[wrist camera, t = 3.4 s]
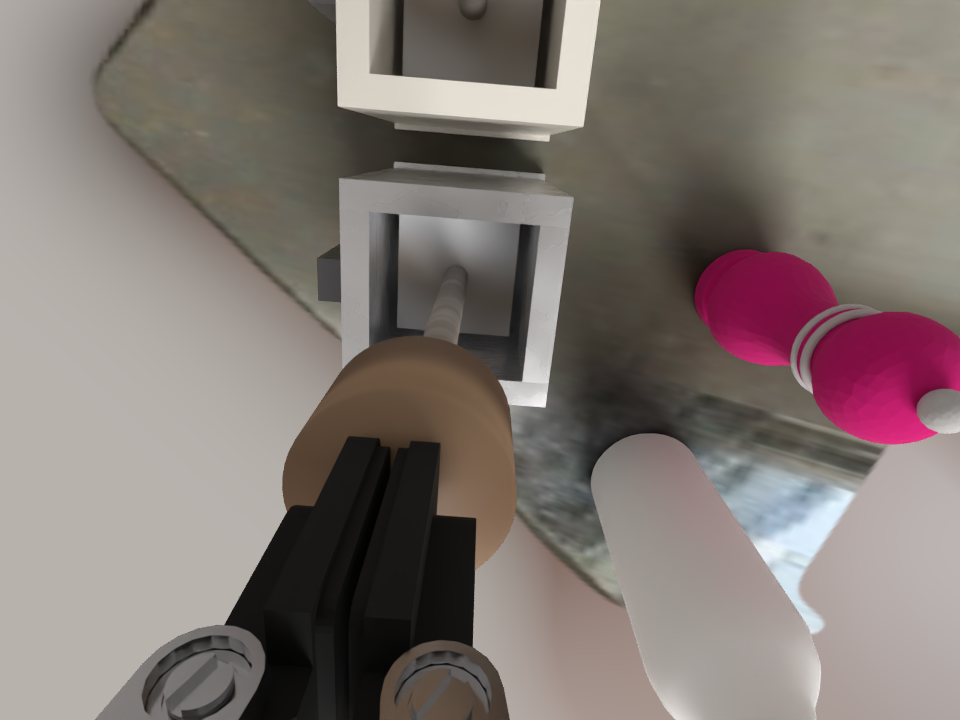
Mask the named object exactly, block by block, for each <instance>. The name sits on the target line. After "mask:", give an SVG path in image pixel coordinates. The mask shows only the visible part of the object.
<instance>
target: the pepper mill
mask: <svg viewBox="0 0 960 720" xmlns="http://www.w3.org/2000/svg"><path fill="white" fill-rule="evenodd" d="M695 306H696V310H697V313H698V315H699V317H700V318H701V320H702V321H703V322H704V323H705V324H706V325H707V326H709V327H710V330H711V332H712V334H713V336H714V338H715V339H716V341H717V342H718V343H719V345H721V346H722V347H723V348H724V349H725V350H727V351H728V352H730V353H731V354H733V355H735V356H736V357H738V358H740V359H743V360H745V361H748V362H753V363H757V364H762V365H791V369H792V372H793V375H794V377H795V378H796V380H797V381H798V382H799V383H800V385H801V386H803V387H804V388H805V389H807V390H808V391H810V392H811V393H812V394H813V396H814V398H815V400H816V403H817V405H818V406H819V408H820V409H821V411H822V413H823V414H824V415H825V416H826V417H827V418H828V419H829V420H830V421H832V422H833V423H834V424H835V425H836V426H837V427H839V428H841V429H842V430H844V431H846V432H847V433H849V434H851V435H853V436H855V437H858V438H860V439H863V440H867V441H870V442H874V443H882V444H904V443H911V442H916V441H920V440H923V439H925V438H928V437H931V436H934V435H935V434H937V433H956V432H960V338H959V337H958V336H957V335H956V334H954V333H953V332H952V331H950V330H949V329H948V328H946V327H945V326H943V325H941V324H939V323H938V322H936V321H934V320H932V319H929V318H926V317H923V316H920V315H917V314H913V313H908V312H881V311H877V310H875V309H873V308H871V307H869V306H865V305H861V304H845V305H838V302H837V300H836V297H835V295H834V292H833V290H832V288H831V286H830V285H829V283H828V282H827V280H826V279H825V278H824V277H823V276H822V274H821V273H820V272H819V271H818V270H817V269H816V268H815V267H813V266H812V265H811V264H809V263H808V262H806V261H804V260H802V259H800V258H798V257H796V256H794V255H791V254H787V253H781V252H766V253H762V252H760V251H756V250H751V249H741V250H735V251H732V252H729V253H727V254H724V255H722V256H720V257H719V258H717V259H716V260H714V261H713V262H712V263H711V264H710V265H709V266H708V267H707V268H706V269H705V271H704V272H703V273H702V275H701V277H700V279H699V281H698V283H697V286H696V290H695Z"/></svg>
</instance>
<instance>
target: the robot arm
mask: <svg viewBox="0 0 960 720" xmlns="http://www.w3.org/2000/svg"><path fill="white" fill-rule="evenodd" d="M440 450H441V443H437V442H424V441H411V442H410V445H409V448H398V451H397V454H396V457H395V461H394V464H393V467H392V471H391V474H390V465H391V450H390V447H385V446H381V444H380V439H379V438H370V437H356V436H348V438H347V439H346V442H345V444H344V446H343V448H342V450H341V452H340V454H339V456H338V458H337V460H336V462H335V464H334V466H333V468H332V470H331V472H330V474H329V476H328V478H327V480H326V482H325V484H324V486H323V488H322V490H321V493H320V495H319V497H318V499H317V501H316V503H315V505H314V506H304V505H293V506H292V507H290V509H289V510H288V512H287V513H286V515H285V517H284V519H283V520H282V522H281V524H280V526H279V528H278V530H277V531H276V533H275V535H274V537H273V538H272V540H271V542H270V544H269V545H268V547H267V549H266V551H265V553H264V555H263V556H262V558H261V560H260V562H259V563H258V565H257V567H256V569H255V571H254V572H253V574H252V576H251V578H250V580H249V582H248V583H247V585H246V587H245V589H244V590H243V592H242V594H241V596H240V598H239V600H238V601H237V603H236V605H235V607H234V608H233V610H232V612H231V614H230V616H229V618H228V619H227V621H226V623H225V625H215V626H209V627H204V628H198V629H195V630H193V631H190V632H188V633H185V634H183V635H180V636H178V637H176V638H175V639H173V640H171V641H170V642H168V643H167V644H165V645H163V646H162V647H160V648H159V649H158V650H157V651H156V652H155V653H153V654H152V655H151V656H150V657H149V658H148V659H147V660H146V661H145V662H144V663H143V664H142V665H141V666H140V668H139V669H138V670H137V671H136V672H135V673H134V675H133V676H132V677H131V678H130V680H128V682H127V683H126V684H125V685H124V686H123V687H122V689H121V690H120V691H119V692H118V693H117V694H116V696H115V697H114V698H113V699H112V700H111V701H110V703H109V704H108V705H107V706H106V707H105V708H104V710H103V711H102V712H101V713H100V714H99V716H98V717H97V718H96V719H95V720H510V719H509V714H508V708H507V703H506V698H505V692H504V687H503V685H502V682H501V679H500V676H499V674H498V671H497V670H496V669H495V667H494V666H493V665H492V663H491V662H490V661H489V659H488V658H487V657H486V656H484V655H483V654H482V653H480V652H479V651H477V650H476V649H475V648H473V617H474V584H475V551H476V518H470V517H457V516H443V515H437V503H438V485H439V468H440Z"/></svg>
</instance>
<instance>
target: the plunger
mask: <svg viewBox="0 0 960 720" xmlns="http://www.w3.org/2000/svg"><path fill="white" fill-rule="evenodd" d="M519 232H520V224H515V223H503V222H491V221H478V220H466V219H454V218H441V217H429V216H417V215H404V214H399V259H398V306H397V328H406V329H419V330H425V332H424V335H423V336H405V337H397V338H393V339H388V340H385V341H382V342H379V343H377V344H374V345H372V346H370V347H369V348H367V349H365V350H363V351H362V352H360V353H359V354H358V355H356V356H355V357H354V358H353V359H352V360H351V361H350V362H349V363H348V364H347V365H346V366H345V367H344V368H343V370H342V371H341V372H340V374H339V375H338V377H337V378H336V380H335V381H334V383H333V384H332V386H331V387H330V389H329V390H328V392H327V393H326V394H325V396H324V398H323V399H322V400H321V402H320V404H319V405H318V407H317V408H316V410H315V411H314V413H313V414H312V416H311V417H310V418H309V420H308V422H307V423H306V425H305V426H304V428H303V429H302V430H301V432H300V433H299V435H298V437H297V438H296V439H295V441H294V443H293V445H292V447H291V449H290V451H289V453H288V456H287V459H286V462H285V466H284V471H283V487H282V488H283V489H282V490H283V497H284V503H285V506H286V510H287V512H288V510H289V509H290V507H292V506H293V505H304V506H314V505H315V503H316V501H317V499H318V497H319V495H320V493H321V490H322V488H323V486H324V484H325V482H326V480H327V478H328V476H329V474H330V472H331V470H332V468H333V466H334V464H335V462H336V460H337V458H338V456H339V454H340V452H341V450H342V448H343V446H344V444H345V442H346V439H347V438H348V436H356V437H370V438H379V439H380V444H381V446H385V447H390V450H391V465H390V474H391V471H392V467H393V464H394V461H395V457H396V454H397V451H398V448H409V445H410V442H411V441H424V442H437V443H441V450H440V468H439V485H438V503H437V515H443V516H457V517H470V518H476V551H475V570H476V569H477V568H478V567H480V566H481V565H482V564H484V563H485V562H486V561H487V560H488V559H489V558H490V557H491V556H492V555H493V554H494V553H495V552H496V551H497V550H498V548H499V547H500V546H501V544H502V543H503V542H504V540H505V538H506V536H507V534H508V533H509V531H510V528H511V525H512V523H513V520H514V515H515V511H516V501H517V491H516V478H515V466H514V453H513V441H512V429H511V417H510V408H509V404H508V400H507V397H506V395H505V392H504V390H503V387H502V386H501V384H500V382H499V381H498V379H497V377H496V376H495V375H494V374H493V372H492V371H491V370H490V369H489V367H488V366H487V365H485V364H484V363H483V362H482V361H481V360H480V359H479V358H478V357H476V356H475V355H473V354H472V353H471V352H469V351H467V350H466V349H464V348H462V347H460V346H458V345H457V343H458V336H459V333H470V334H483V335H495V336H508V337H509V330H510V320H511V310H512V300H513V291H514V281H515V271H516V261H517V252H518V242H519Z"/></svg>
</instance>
